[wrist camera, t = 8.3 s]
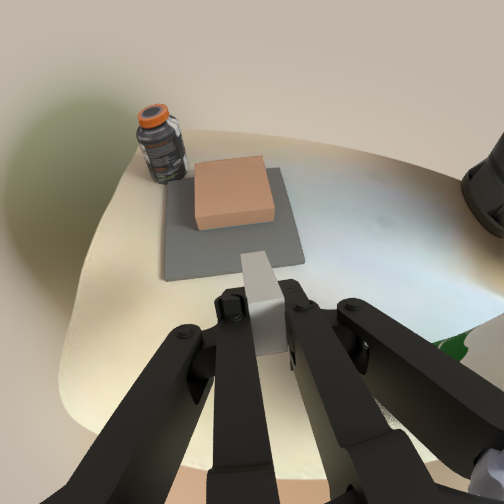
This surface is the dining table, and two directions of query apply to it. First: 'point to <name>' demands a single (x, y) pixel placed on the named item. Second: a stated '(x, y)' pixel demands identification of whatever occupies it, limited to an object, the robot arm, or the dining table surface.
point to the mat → (226, 235)
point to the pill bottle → (162, 144)
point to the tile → (232, 193)
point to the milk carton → (480, 350)
